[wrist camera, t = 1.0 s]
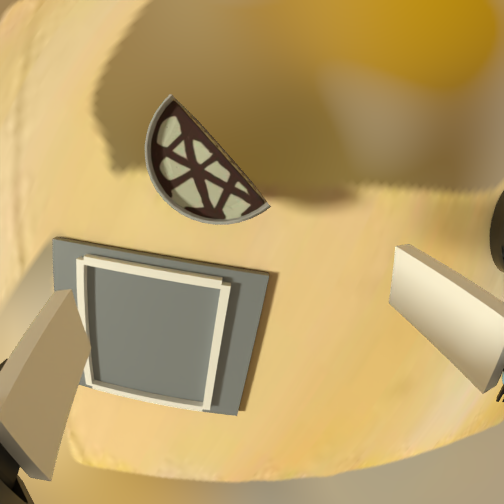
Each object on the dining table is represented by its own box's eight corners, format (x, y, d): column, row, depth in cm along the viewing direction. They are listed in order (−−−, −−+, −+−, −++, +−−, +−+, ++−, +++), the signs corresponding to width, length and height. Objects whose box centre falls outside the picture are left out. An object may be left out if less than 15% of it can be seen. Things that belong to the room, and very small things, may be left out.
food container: (143, 147, 31) (108, 146, 22) (186, 108, 30) (166, 89, 21) (218, 231, 34) (212, 262, 25) (262, 194, 34) (274, 210, 24)
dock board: (268, 272, 36) (270, 279, 34) (236, 410, 42) (237, 420, 40) (56, 236, 33) (48, 241, 32) (68, 376, 40) (63, 384, 38)
